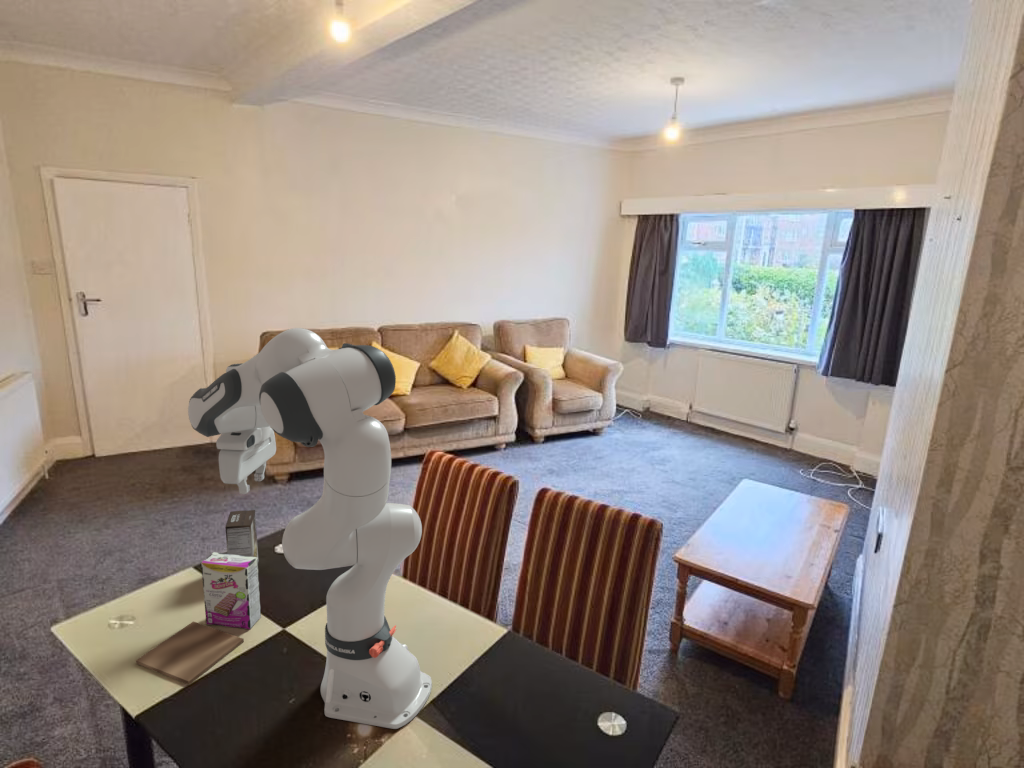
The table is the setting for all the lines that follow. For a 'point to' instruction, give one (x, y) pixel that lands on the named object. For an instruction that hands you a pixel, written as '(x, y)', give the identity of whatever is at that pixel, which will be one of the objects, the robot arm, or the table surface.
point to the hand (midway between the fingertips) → (252, 486)
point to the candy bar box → (231, 590)
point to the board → (190, 652)
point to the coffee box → (242, 533)
